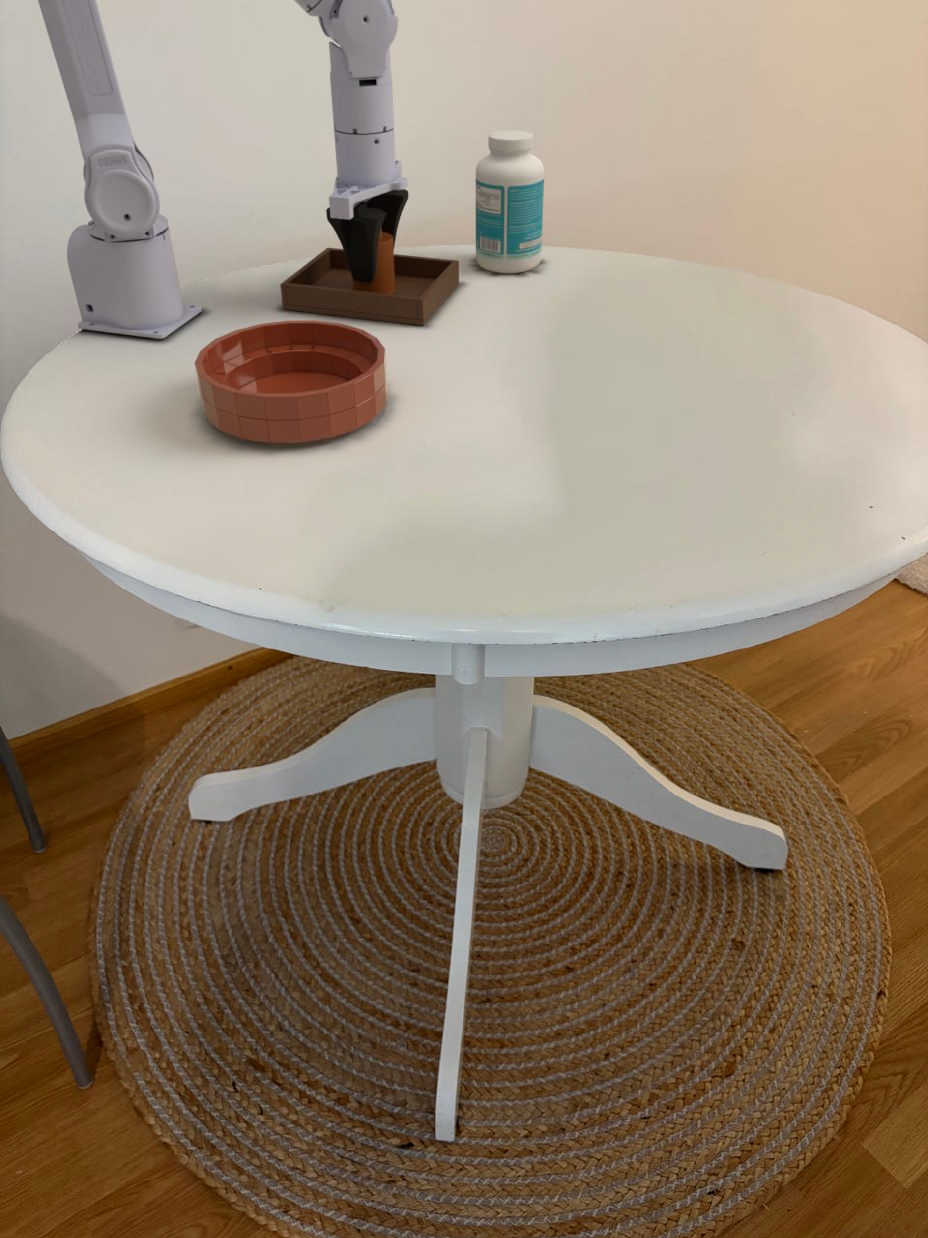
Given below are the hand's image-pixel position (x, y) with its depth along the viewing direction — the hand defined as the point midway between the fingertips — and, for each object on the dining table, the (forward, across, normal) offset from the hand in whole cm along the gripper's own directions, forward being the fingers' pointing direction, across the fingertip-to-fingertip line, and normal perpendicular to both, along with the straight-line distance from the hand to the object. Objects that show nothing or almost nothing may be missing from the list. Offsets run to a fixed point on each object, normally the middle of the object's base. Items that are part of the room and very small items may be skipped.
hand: (372, 272), depth 99 cm
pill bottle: (+3, +14, -11) cm, 18 cm away
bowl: (+2, -26, -3) cm, 26 cm away
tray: (+2, 0, 0) cm, 2 cm away
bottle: (+2, 0, 0) cm, 2 cm away
